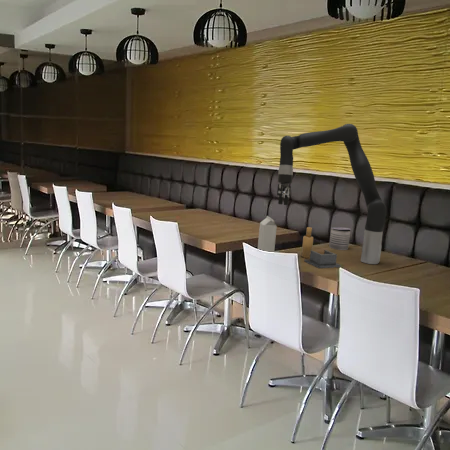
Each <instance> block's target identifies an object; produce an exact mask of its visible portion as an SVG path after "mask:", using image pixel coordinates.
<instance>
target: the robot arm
mask: <svg viewBox="0 0 450 450" xmlns="http://www.w3.org/2000/svg"><path fill="white" fill-rule="evenodd" d="M334 142H343V144H344V147H346V148H345V149H346V151H347V154H348V157H349V161H350V163H349V164H350V166H351V169H352V172H353V175H354V178H355V180H356V182H357V184H358V187H359V188H360V190H361V193H362V195H363V197H364V202H365V205H366V210H367V215H366V219H365V220H366V221H365V225H364V233H363V240H362V246H361V247H362V249H361V255H360V262H362V263H364V264H369V265H378V264H379V263H380V261H381V252H382V241H383V234H384V233H383V232H384V227H385V223H386V218H387V217H386V216H387V206H386V205H385V203H384V202H383V200H382V198H381V195H380V194H379V191H378V188H377V184H376V180H375V179H376V178H375V175H374V172H373V169H372V166H371V163H370V161H369V159H368V157H367V155H366V152H364V149H363V147H362V144H361V141H360V137H359V131H358V128H357V126H356V125H354V124H353V123H345V124H343V125H341V126H339V127H336V128H333V129H327V130H320V131H311V132H310V131H309V132H305V133H300V134H299V135H295V136H291V135H284V136H283V137H282V138H281V139H280V142H279V145H280V146H279V149H280V150H279V152H280V155H279V156H280V158H279V166H278V176H277V183H278V184H277V191H276V196H278V199H277V200H278V202H277V204H278V205H284V206H289V200H290V198H291V196H292V195H291V192H292V186H291V185H290V184H293V176H294V175H293V173H294V167H293V166H294V155H293V153H294V152H293V151H294V150H298V149H300V148H301V149H302V148H307V147H313V146H317V145H323V144H328V143H334Z"/></svg>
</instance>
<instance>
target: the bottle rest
mask: <svg viewBox="0 0 450 450" xmlns="http://www.w3.org/2000/svg"><path fill="white" fill-rule="evenodd" d="M303 259H304V262H305V263H306V264H309V265H311V266H313V267H315V268H318V269H334V267H336V268H341V266H342V265H341V264H339V263H337V259H338V253H334V252H333V251H330V250H327V249H326V250H324V251H323V254H321V253H319V252H317V251H314V250H312V251H311V254H310V258H303Z"/></svg>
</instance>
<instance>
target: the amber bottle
mask: <svg viewBox="0 0 450 450" xmlns="http://www.w3.org/2000/svg"><path fill="white" fill-rule="evenodd" d="M312 231H313V227H310V226H307V227H306V232H305V233H306V234H305V235H303V238H302V247H301V255H300V256H301V258H303V259H310V254H311V251H313V244H314V236H312Z"/></svg>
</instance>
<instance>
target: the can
mask: <svg viewBox="0 0 450 450" xmlns="http://www.w3.org/2000/svg"><path fill="white" fill-rule="evenodd" d="M350 236H351V228H349V227H330V234H329V244H328V246H329V248H331V249H334V250H339V251H340V250H341V251H348V249H349V245H350Z"/></svg>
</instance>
